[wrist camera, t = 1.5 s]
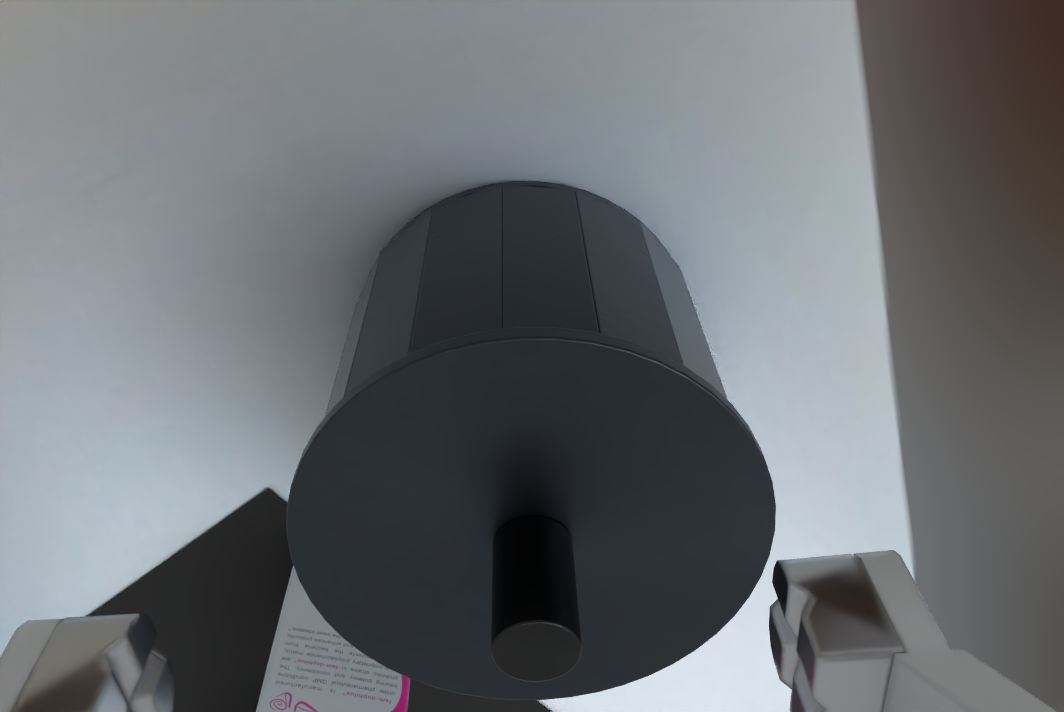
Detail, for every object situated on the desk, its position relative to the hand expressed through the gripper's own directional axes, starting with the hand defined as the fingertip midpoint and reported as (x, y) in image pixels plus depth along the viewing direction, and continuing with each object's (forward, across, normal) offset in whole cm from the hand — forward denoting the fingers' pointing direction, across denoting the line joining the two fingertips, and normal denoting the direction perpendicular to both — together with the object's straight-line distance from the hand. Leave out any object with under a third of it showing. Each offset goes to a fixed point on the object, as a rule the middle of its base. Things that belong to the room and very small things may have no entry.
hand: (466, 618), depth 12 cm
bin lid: (+12, -1, +10) cm, 16 cm away
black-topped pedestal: (+25, +16, +36) cm, 46 cm away
